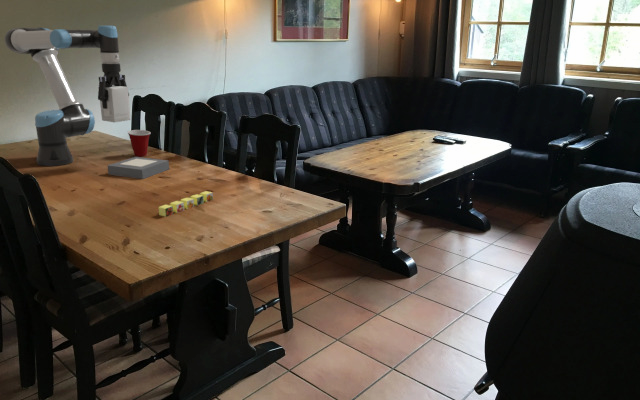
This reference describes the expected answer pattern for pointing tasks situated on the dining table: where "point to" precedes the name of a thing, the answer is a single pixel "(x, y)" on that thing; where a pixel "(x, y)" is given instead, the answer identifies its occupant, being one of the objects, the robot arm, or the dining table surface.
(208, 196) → the row of toy blocks
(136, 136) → the plastic cup
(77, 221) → the dining table surface
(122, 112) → the supplement box
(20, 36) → the robot arm
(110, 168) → the plinth
